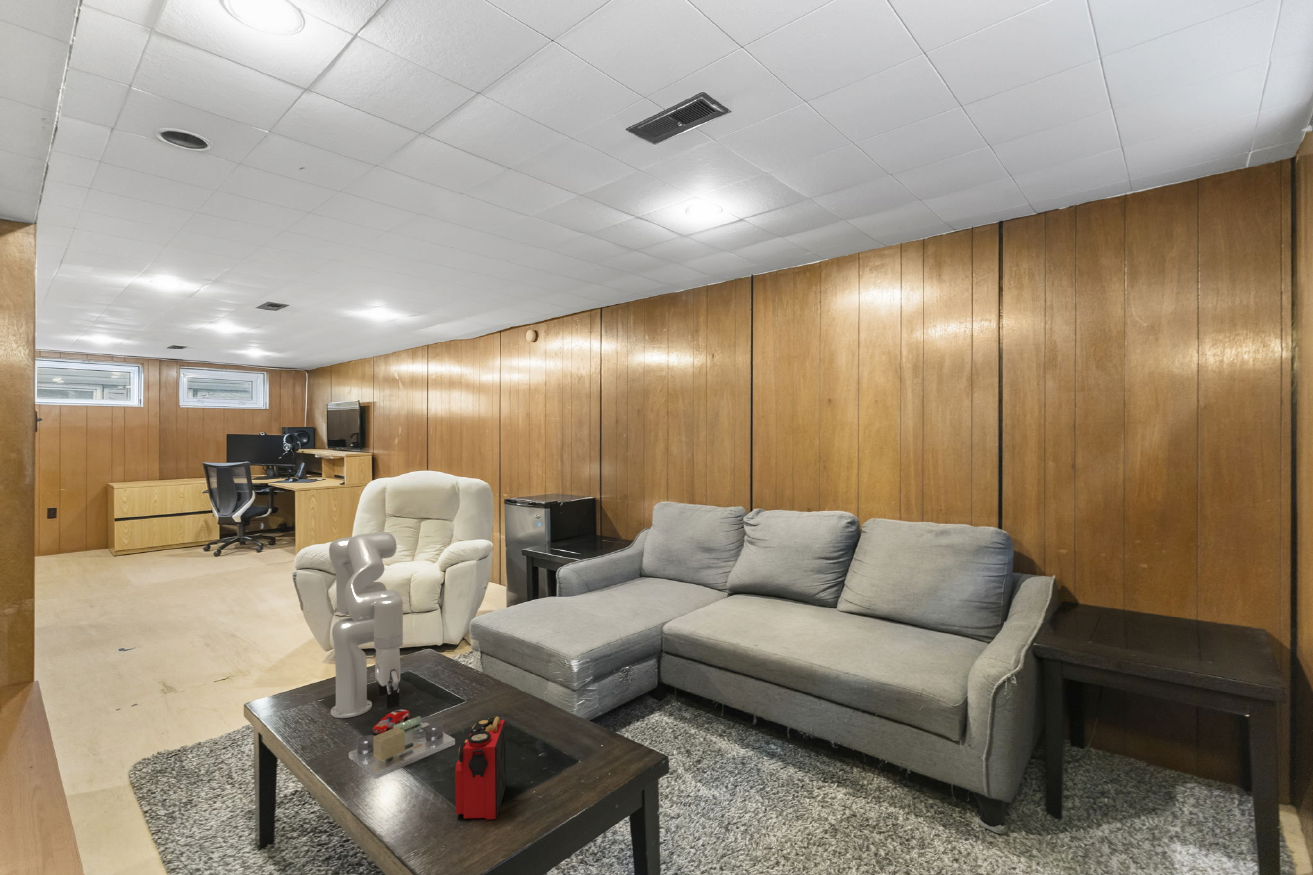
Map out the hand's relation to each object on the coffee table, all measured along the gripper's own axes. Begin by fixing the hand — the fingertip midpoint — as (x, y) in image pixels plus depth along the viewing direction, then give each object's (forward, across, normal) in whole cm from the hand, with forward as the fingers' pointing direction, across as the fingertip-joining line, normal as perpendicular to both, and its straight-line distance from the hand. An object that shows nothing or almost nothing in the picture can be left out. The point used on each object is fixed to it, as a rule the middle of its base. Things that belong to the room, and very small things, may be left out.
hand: (388, 700), depth 173 cm
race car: (+19, -23, +6) cm, 31 cm away
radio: (+17, +35, +14) cm, 42 cm away
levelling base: (+18, -4, +5) cm, 19 cm away
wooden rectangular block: (+16, 0, +2) cm, 16 cm away
